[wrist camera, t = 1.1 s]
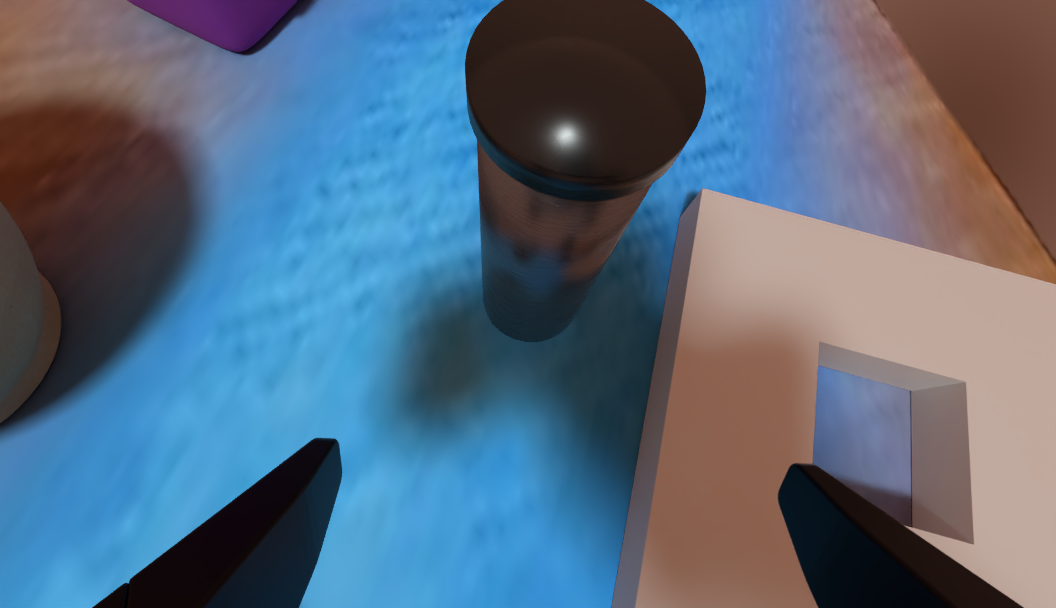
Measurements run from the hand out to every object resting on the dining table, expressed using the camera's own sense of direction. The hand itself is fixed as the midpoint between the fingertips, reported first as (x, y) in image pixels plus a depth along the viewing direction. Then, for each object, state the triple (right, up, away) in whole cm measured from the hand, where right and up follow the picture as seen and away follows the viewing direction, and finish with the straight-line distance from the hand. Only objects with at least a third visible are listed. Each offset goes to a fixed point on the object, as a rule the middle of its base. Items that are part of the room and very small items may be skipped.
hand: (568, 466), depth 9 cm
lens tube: (-1, +4, +15) cm, 16 cm away
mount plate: (+15, -4, +14) cm, 21 cm away
